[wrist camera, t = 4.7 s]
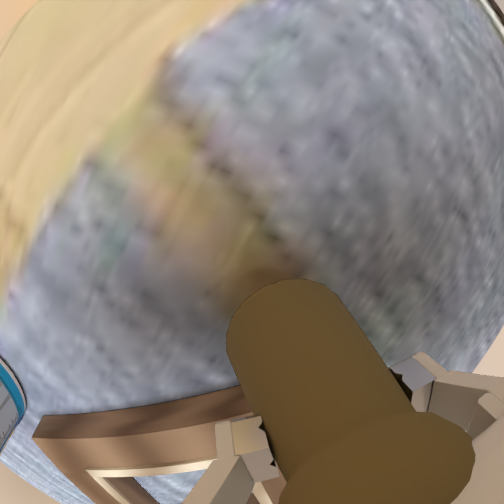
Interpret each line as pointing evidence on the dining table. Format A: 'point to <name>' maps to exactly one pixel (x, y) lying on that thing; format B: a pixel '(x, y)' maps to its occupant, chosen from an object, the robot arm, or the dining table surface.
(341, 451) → the olive peg
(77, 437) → the socket board
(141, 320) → the dining table surface
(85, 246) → the dining table surface
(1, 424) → the beverage bottle
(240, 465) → the robot arm
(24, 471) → the dining table surface
